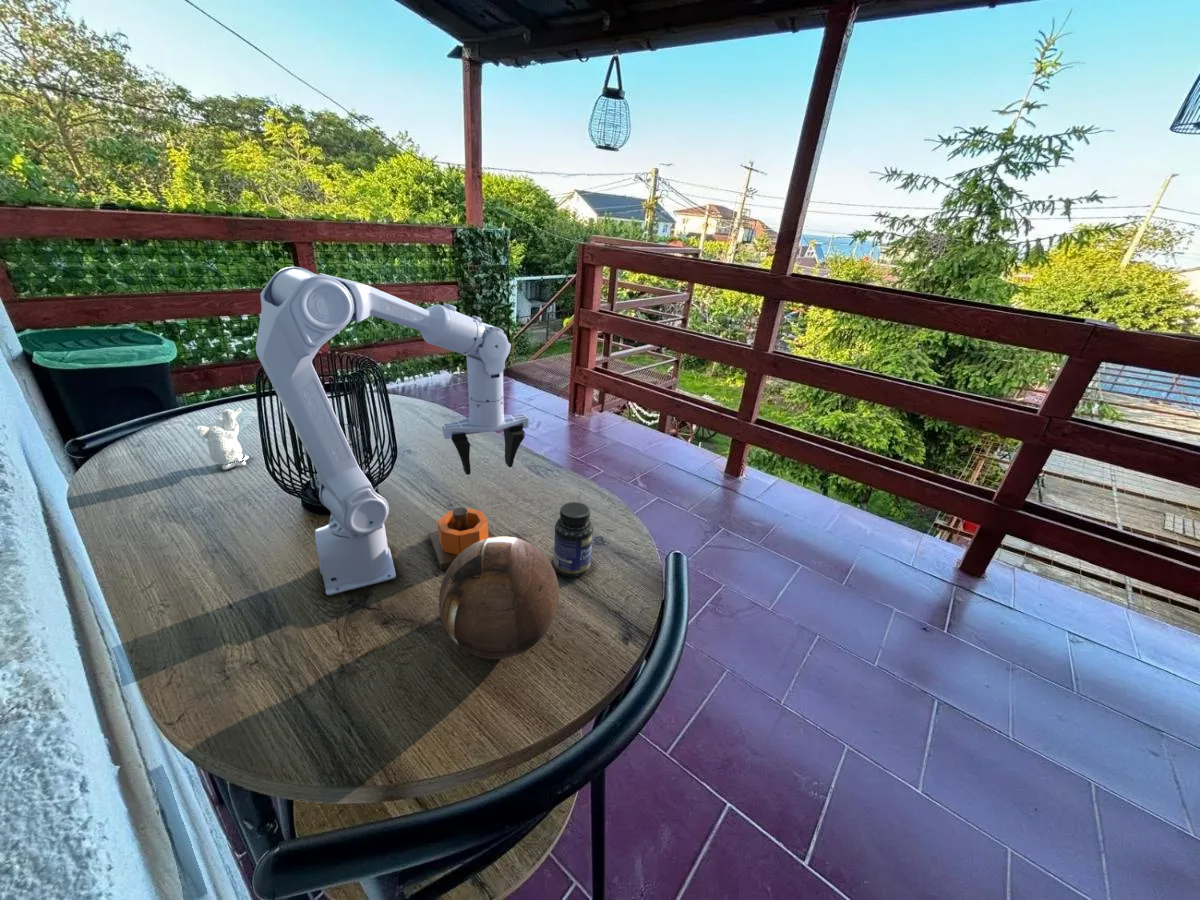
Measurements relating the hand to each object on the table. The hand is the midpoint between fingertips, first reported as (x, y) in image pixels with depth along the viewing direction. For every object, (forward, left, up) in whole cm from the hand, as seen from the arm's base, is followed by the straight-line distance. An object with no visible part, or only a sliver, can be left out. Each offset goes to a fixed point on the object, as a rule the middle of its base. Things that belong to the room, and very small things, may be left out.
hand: (488, 468), depth 86 cm
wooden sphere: (-7, -29, -11) cm, 31 cm away
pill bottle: (+8, -19, -11) cm, 23 cm away
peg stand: (-7, -7, -10) cm, 14 cm away
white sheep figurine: (-43, +39, -11) cm, 59 cm away
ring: (-7, -7, -9) cm, 13 cm away
